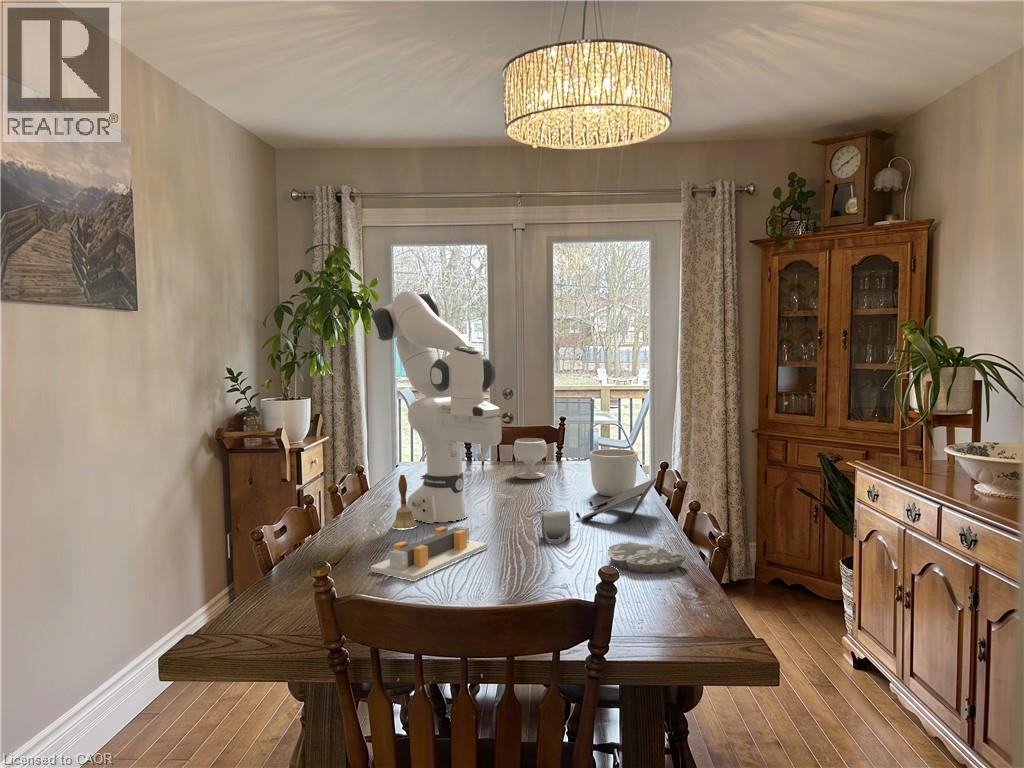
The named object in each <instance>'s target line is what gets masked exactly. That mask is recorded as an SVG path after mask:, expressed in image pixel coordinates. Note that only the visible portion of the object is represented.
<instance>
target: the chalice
mask: <svg viewBox="0 0 1024 768" xmlns="http://www.w3.org/2000/svg"><path fill="white" fill-rule="evenodd" d="M512 454H513V455H514V457H515V458H516V459H518V460H520V461H521V462H523V463H524V464H526V465H527V468H528V469H527V471H526V472H521V473H517V474H515V477H516V478H517V479H524V480H525V479H526V480H535V479H541V478H545V477H546V474H545V473H543V472H538V471H537V472H535V471H534V469H533V468H534V465H535V464H536V463H537V462H539V461H541V460H542V459H544V458H545V457H546V456H547V454H548V445H547V442H546V440H545V439H544V438H540V437H539V438H538V437H523V438H518V439H516V440H515V441H514V444H513V446H512Z"/></svg>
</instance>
